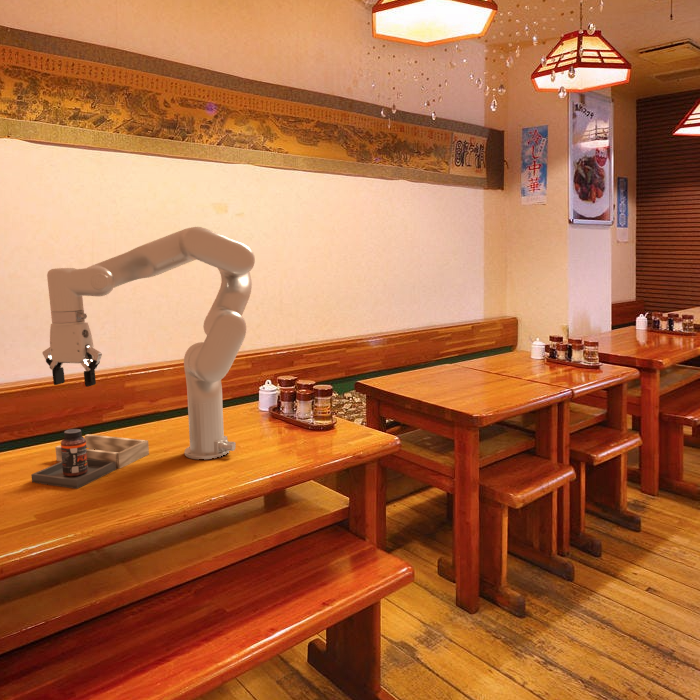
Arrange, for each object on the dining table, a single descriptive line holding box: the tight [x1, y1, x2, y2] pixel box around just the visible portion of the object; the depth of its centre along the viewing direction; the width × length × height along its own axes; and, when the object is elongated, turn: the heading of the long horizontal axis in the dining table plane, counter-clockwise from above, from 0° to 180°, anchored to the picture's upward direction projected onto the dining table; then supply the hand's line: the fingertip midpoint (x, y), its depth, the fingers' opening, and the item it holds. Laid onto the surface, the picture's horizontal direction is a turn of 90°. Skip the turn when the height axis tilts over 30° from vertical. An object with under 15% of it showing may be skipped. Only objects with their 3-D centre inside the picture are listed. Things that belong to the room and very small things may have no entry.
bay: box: [55, 433, 150, 469], centre depth 172 cm, size 21×12×4 cm, turn 71°
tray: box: [31, 459, 117, 489], centre depth 158 cm, size 14×14×2 cm
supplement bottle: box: [60, 428, 88, 477], centre depth 158 cm, size 6×6×11 cm
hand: (74, 384), depth 157 cm, fingers open, 9 cm apart
